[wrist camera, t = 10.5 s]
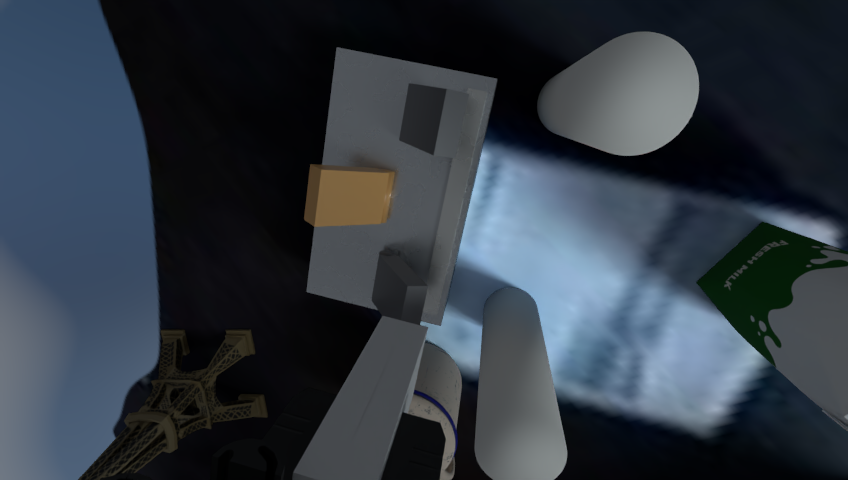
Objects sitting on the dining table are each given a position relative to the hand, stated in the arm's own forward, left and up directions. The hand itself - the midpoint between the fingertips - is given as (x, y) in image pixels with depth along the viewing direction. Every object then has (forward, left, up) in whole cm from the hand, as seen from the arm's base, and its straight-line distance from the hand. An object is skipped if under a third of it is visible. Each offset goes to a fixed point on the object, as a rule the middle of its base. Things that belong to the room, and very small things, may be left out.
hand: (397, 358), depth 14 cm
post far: (-7, +9, -26) cm, 29 cm away
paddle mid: (+5, 0, -21) cm, 22 cm away
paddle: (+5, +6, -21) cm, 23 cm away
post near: (-7, -10, -26) cm, 29 cm away
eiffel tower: (+22, +25, -27) cm, 43 cm away
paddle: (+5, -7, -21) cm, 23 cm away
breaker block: (+5, 0, -26) cm, 27 cm away
